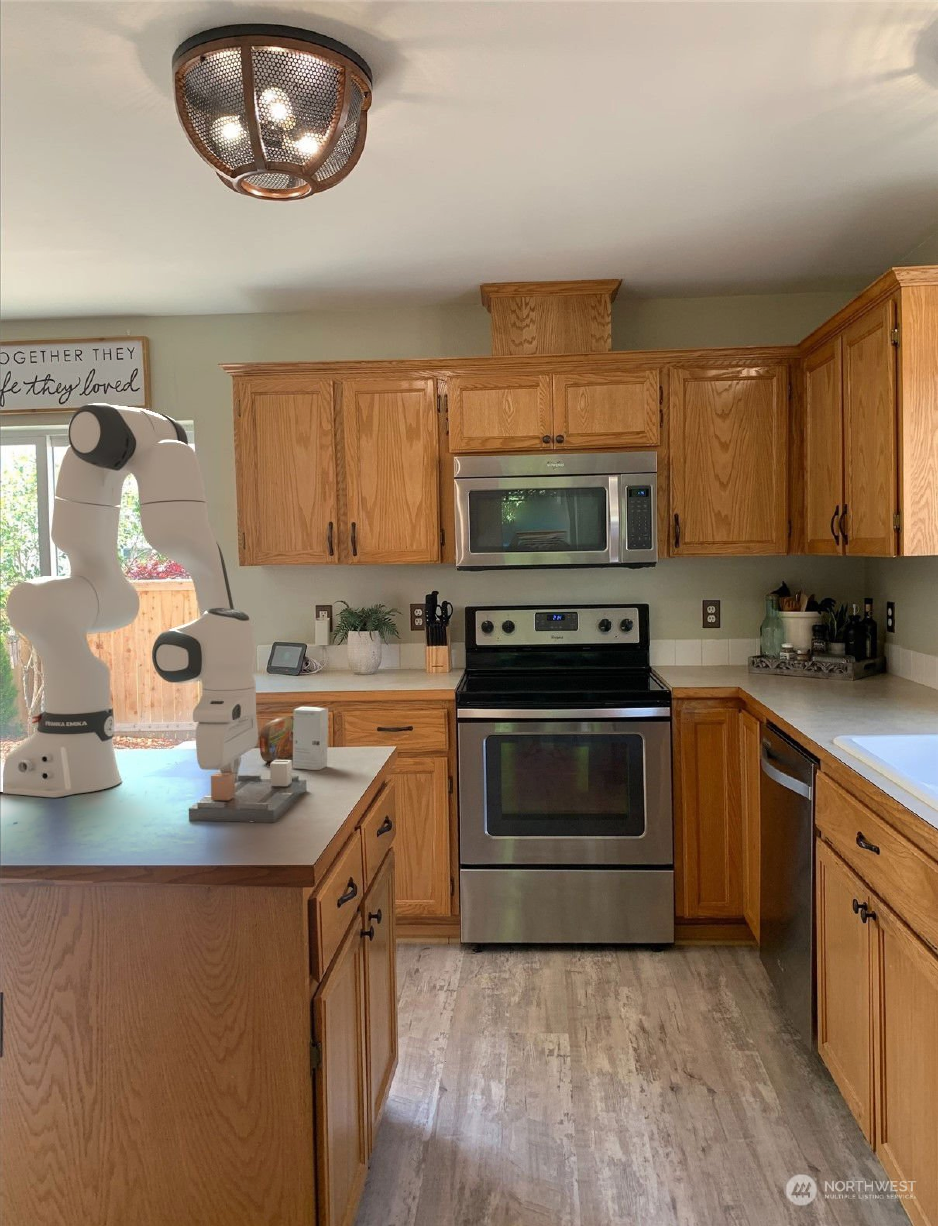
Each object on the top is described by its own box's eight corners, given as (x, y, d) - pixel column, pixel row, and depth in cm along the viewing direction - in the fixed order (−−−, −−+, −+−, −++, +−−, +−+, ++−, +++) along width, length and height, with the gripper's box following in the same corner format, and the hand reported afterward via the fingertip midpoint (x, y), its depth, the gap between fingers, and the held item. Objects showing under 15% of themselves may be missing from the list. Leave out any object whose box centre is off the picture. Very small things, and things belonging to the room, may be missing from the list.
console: (188, 820, 144) (188, 803, 144) (231, 789, 164) (231, 773, 164) (274, 822, 143) (273, 805, 143) (306, 790, 163) (306, 775, 163)
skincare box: (291, 769, 180) (291, 709, 180) (301, 764, 185) (300, 705, 184) (320, 770, 179) (319, 710, 178) (329, 765, 183) (328, 707, 182)
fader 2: (270, 785, 158) (270, 762, 158) (275, 781, 161) (275, 759, 161) (287, 786, 158) (286, 763, 157) (291, 782, 161) (291, 759, 160)
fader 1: (211, 799, 148) (210, 775, 148) (217, 795, 151) (217, 771, 151) (228, 800, 148) (228, 775, 148) (234, 795, 151) (234, 771, 151)
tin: (271, 766, 183) (270, 725, 182) (256, 765, 183) (256, 725, 183) (299, 751, 197) (299, 713, 197) (286, 750, 198) (285, 712, 198)
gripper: (232, 694, 163) (233, 769, 164) (188, 713, 143) (189, 799, 143) (265, 695, 163) (266, 770, 163) (226, 714, 142) (228, 800, 143)
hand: (230, 784), depth 153 cm, fingers closed
